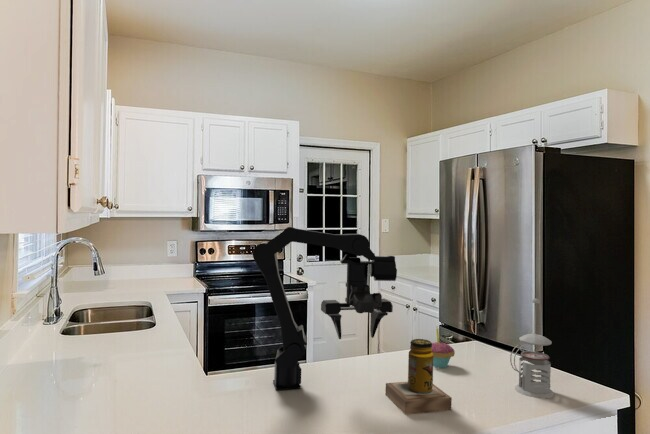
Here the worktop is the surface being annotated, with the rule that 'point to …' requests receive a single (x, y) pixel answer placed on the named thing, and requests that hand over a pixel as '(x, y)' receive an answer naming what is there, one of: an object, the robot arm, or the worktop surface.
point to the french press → (534, 366)
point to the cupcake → (441, 353)
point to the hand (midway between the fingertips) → (356, 338)
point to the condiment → (419, 369)
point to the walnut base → (418, 400)
